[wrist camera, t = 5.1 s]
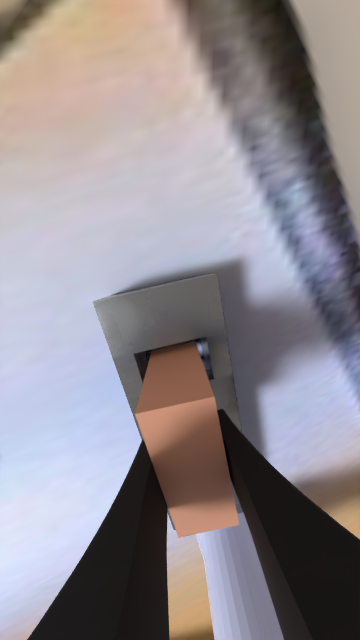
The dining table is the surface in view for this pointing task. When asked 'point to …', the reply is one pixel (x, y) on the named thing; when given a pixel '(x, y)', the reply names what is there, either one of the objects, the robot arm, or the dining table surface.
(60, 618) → the robot arm
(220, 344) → the gray rectangular frame
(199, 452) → the orange u-shaped block
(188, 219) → the dining table surface
